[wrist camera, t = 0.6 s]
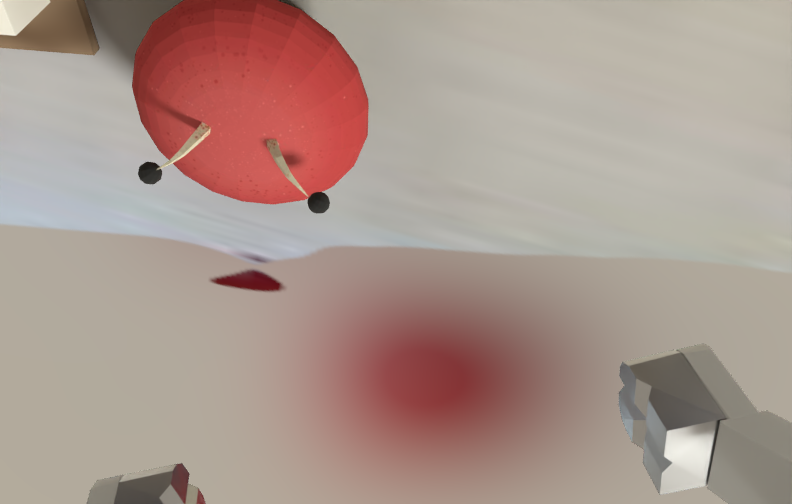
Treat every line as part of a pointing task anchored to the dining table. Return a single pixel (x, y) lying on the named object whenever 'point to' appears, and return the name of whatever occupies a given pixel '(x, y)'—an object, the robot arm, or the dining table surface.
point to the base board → (57, 30)
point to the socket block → (18, 14)
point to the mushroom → (250, 100)
